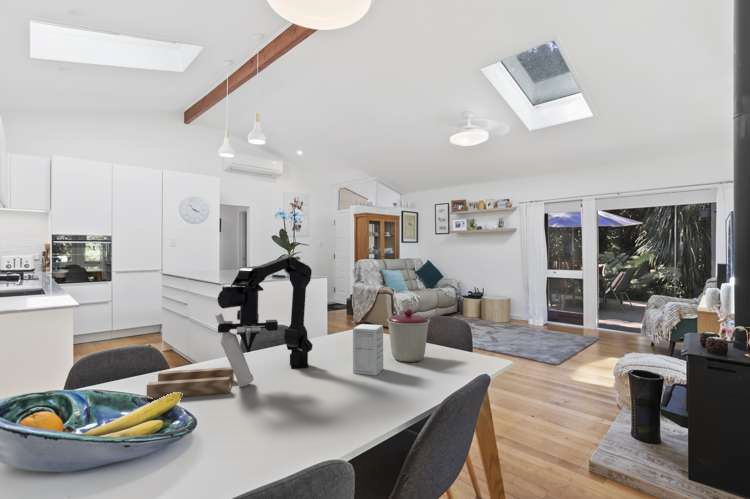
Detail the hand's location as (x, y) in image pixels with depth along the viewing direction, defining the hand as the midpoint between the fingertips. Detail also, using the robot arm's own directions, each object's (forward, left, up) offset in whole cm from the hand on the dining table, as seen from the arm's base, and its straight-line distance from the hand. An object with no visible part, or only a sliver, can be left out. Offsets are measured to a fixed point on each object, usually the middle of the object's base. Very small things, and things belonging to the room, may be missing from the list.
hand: (248, 351), depth 124 cm
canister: (-63, -18, -11) cm, 66 cm away
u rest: (+17, 0, -11) cm, 20 cm away
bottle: (0, 0, -10) cm, 10 cm away
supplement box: (-43, -6, -11) cm, 45 cm away
